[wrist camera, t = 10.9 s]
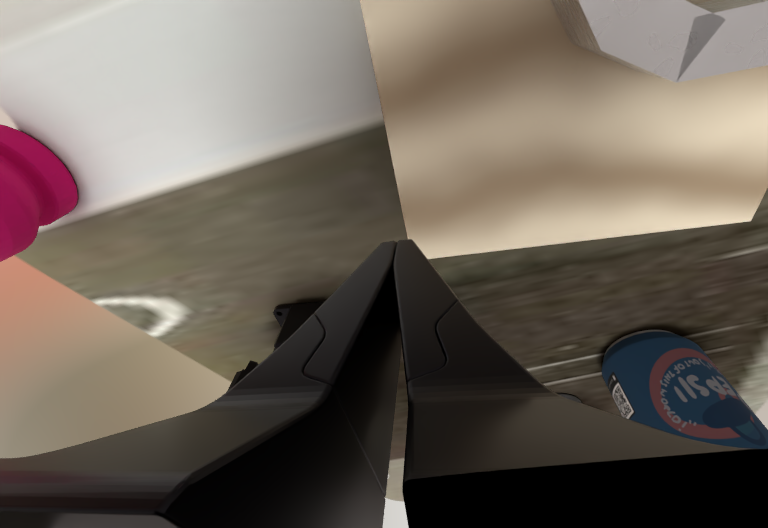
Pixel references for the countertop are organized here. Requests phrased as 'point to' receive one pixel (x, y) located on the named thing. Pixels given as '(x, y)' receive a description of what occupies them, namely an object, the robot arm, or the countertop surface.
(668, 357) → the soda can
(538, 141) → the board
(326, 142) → the countertop surface
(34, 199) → the pepper mill
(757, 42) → the white faceted ring
